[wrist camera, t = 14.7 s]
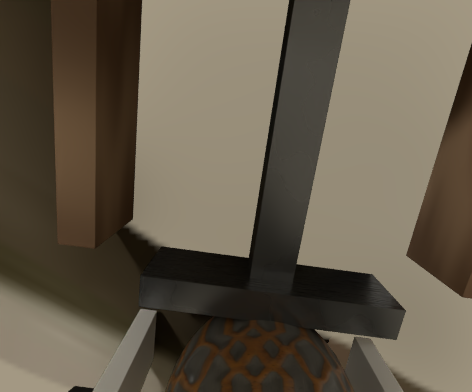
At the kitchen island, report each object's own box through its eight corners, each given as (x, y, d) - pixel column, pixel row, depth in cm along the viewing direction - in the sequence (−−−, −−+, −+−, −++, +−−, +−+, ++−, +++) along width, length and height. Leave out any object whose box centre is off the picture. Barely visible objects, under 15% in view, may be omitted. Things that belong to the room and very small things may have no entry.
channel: (112, -214, 8) (38, -410, 5) (570, -147, 8) (750, -303, 5) (105, 215, 11) (57, 243, 8) (433, 258, 11) (498, 301, 9)
